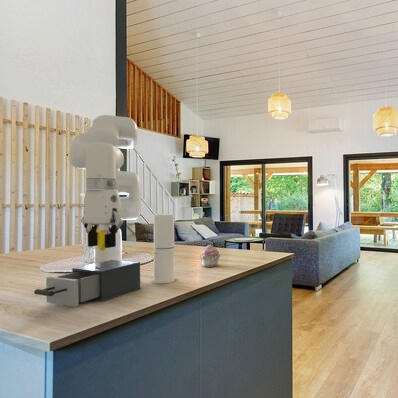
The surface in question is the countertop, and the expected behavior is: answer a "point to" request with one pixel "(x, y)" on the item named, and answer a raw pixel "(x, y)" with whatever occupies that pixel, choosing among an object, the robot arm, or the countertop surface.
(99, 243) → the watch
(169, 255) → the cylindrical container
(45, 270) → the countertop surface
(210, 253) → the cupcake
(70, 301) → the drawer
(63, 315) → the countertop surface
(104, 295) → the cabinet
